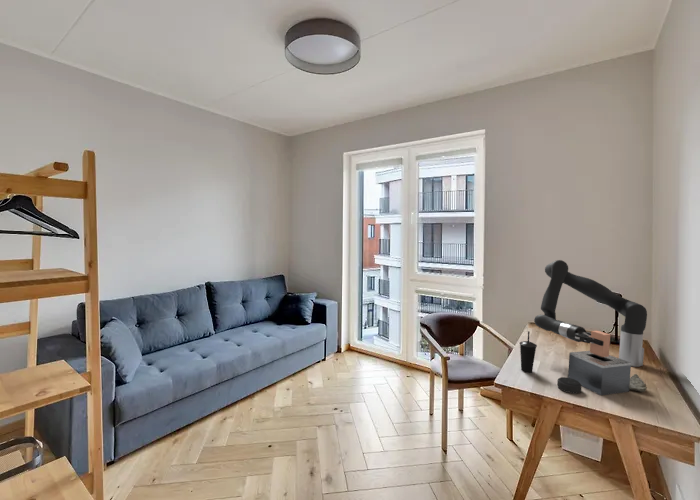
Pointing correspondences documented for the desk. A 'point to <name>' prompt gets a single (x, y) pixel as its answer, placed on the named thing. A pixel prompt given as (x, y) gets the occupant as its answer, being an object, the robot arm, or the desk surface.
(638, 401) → the desk surface
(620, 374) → the coin box
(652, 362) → the desk surface
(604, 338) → the salmon orange block
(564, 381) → the smart speaker
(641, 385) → the rock sample
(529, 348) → the drinking cup
